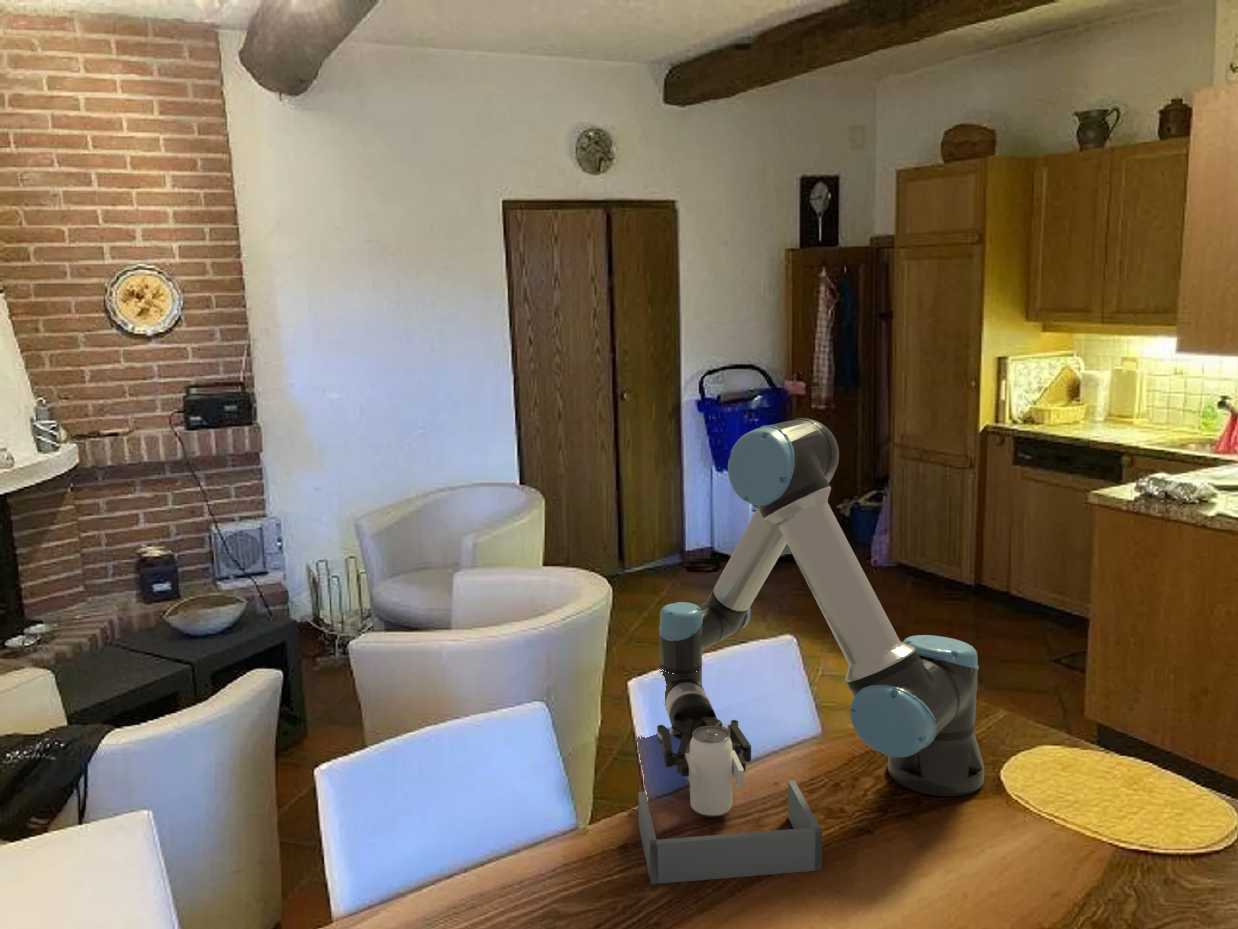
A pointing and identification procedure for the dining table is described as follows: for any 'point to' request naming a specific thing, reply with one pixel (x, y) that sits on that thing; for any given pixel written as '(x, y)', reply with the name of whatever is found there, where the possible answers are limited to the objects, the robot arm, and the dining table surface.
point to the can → (712, 770)
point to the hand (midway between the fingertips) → (718, 780)
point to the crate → (734, 848)
